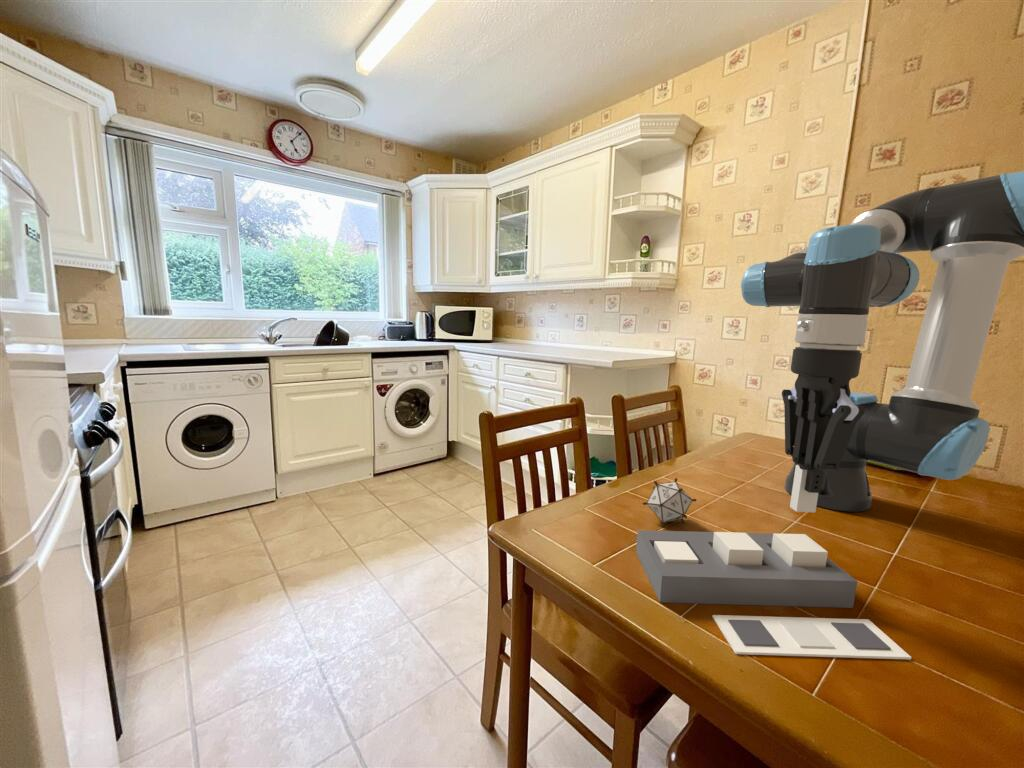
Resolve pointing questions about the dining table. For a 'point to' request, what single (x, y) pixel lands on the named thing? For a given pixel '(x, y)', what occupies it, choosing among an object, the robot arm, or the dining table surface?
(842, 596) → the button board
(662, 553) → the button far
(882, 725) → the dining table surface
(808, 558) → the button near arm
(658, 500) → the game die
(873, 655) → the pattern card
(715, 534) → the middle button
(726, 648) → the dining table surface
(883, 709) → the dining table surface
